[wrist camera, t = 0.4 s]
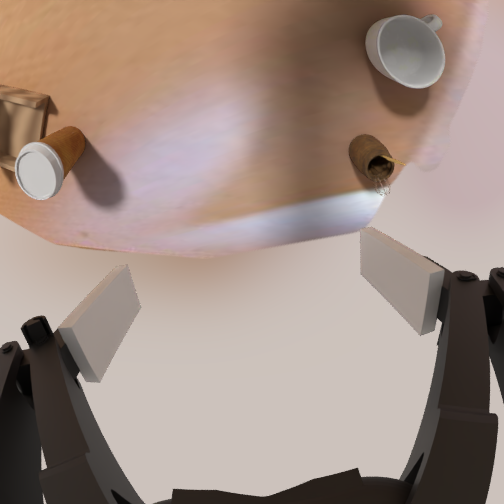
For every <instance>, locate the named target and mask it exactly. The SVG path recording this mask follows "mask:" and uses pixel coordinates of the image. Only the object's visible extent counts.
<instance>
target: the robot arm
mask: <svg viewBox="0 0 504 504" xmlns="http://www.w3.org/2000/svg"><path fill="white" fill-rule="evenodd" d="M360 241H361V242H360V243H361V275H362V276H363V277H364V278H365V279H366V280H367V281H368V282H369V283H370V284H371V285H372V286H373V287H374V288H375V289H376V290H377V291H378V292H379V293H380V294H381V295H382V296H383V297H384V298H385V299H386V300H387V301H388V302H389V303H390V304H391V305H392V306H393V307H394V308H395V309H396V310H397V311H398V313H399V314H400V315H401V316H402V317H403V318H404V319H405V320H406V321H407V322H408V323H409V324H410V325H411V326H412V327H413V328H414V330H415V331H416V332H417V333H418V334H419V335H420V336H421V335H424V334H427V333H430V332H432V331H434V330H435V325H436V320H437V318H438V319H439V320H440V321H441V322H442V326H441V330H440V334H439V338H438V342H437V345H438V351H437V357H436V363H435V368H434V373H433V378H432V383H431V388H430V392H429V396H428V400H427V405H426V408H425V412H424V415H423V419H422V422H421V426H420V429H419V432H418V435H417V438H416V441H415V444H414V447H413V450H412V453H411V455H410V458H409V460H408V463H407V465H406V468H405V470H404V471H403V473H402V475H401V477H400V479H399V480H398V479H393V478H387V477H361V476H360V473H359V470H358V468H355V469H352V470H348V471H345V472H341V473H337V474H333V475H329V476H325V477H321V478H316V479H312V480H310V481H308V482H305V483H303V484H300V485H298V486H296V487H293V488H290V489H287V490H285V491H282V492H279V493H276V494H273V495H270V496H266V497H259V496H251V495H243V494H236V493H230V492H224V491H219V490H184V489H173V493H172V499H168V500H164V501H160V502H157V503H154V504H485V503H486V499H487V494H488V491H489V486H490V481H491V476H492V471H493V465H494V459H495V451H496V443H497V433H498V416H497V415H496V414H493V413H489V404H490V360H489V356H490V359H491V362H492V365H493V368H494V371H495V374H496V377H497V381H498V384H499V387H500V391H501V395H502V398H503V403H504V268H503V267H501V268H493V269H491V271H490V276H489V280H481V281H479V278H478V276H477V275H475V274H474V273H471V272H468V271H455V272H453V273H452V272H450V271H449V270H448V269H446V268H444V267H443V266H441V265H439V264H438V263H436V262H434V261H433V260H431V259H430V258H428V257H425V256H422V255H420V254H418V253H416V252H415V251H413V250H412V249H410V248H408V247H407V246H405V245H403V244H401V243H400V242H398V241H396V240H394V239H393V238H391V237H389V236H387V235H386V234H384V233H382V232H380V231H378V230H376V229H375V228H373V227H368V228H362V229H360ZM140 308H141V305H140V303H139V299H138V296H137V293H136V290H135V287H134V284H133V281H132V277H131V274H130V270H129V267H128V265H123V266H117V267H115V269H114V270H112V271H111V272H110V273H109V274H108V275H107V276H106V277H105V278H104V279H103V280H102V281H101V282H100V283H99V284H98V285H97V286H96V287H95V288H94V289H93V290H92V291H91V293H89V295H88V296H87V297H86V298H85V299H84V300H83V301H82V302H81V303H80V304H79V305H78V306H77V307H76V308H75V309H74V310H73V311H72V313H71V314H70V315H69V316H68V317H67V318H66V319H65V320H64V321H63V323H62V324H61V325H60V326H59V327H58V329H57V330H56V331H55V332H54V333H53V332H52V330H51V328H50V326H49V324H48V321H47V319H46V317H45V316H37V317H34V318H32V319H30V320H28V321H27V322H25V323H24V324H23V325H22V327H21V330H22V332H23V335H24V337H25V339H26V341H27V343H28V345H29V349H27V350H22V349H21V347H20V345H19V344H18V342H17V341H12V342H7V343H5V344H4V345H2V347H1V348H0V504H44V503H43V494H44V497H45V500H46V503H47V504H145V503H144V502H143V501H142V500H141V499H140V497H139V496H138V494H137V493H136V491H135V490H134V488H133V487H132V485H131V484H130V482H129V481H128V479H127V477H126V476H125V474H124V473H123V471H122V469H121V468H120V466H119V464H118V463H117V461H116V459H115V457H114V455H113V454H112V452H111V450H110V448H109V446H108V444H107V442H106V440H105V438H104V436H103V435H102V433H101V430H100V428H99V426H98V424H97V422H96V420H95V418H94V415H93V413H92V411H91V409H90V406H89V404H88V402H87V400H86V397H85V394H84V392H83V389H82V387H81V384H80V382H79V381H78V379H77V375H78V373H79V372H81V374H82V376H83V377H84V379H85V381H86V382H100V381H101V379H102V377H103V376H104V373H105V372H106V370H107V368H108V366H109V364H110V362H111V360H112V358H113V357H114V355H115V353H116V351H117V349H118V347H119V345H120V343H121V342H122V340H123V338H124V336H125V335H126V333H127V331H128V329H129V328H130V326H131V324H132V322H133V321H134V318H135V317H136V315H137V314H138V312H139V310H140ZM41 445H42V450H43V453H44V457H45V461H46V465H47V468H46V469H44V470H41Z"/></svg>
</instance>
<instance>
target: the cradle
mask: <svg viewBox="0 0 504 504" xmlns="http://www.w3.org/2000/svg"><path fill="white" fill-rule="evenodd" d="M48 100H49V96H48V95H44V94H40V93H36V92H32V91H28V90H23V89H19V88H14V87H9V86H4V85H0V166H1V167H3V168H6V169H9V170H11V171H14V172H15V162H16V159H17V157H18V155H19V153H20V151H21V149H22V148H23V147H24V146H25V145H27V144H29V143H32V142H37V141H39V140H41V139H42V137H43V130H44V123H45V117H46V111H47V105H48Z"/></svg>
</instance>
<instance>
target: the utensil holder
mask: <svg viewBox="0 0 504 504" xmlns="http://www.w3.org/2000/svg"><path fill="white" fill-rule="evenodd" d="M349 155H350V158H351V160H352V161H353V163H354V164H355V166H356V167H357V168H358V169H359V171H360V172H361V173H362V174H364V175H365V176H366V177H367V178H369V179H370V180H372V181H375V182H380V184H381V181H384V180H386V179H387V178H389V177H390V175H391V174H392V172H393V170H394V163H397V164H401V165H402V164H403V165H406V164H404V163H402V162H400V161H398V160H396V159H393V158H392V156H391V155H390V154H389V152H388V150H387V148H386V147H385V146H384V145H383V144H382V143H381V142H380V141H379V140H377V139H376V138H375V137H373V136H371V135H366V134H364V135H360V136H358V137H356V138H355V139H354V140H353V141H352V142H351V144H350V147H349ZM385 182H386V181H385ZM386 184H387V183H386ZM373 185H374V184H373ZM376 185H377V184H376ZM389 185H390V184H389ZM381 186H382V184H381ZM374 188H375V187H374ZM382 188H383V186H382ZM377 189H378V187H377ZM375 190H376V189H375ZM378 190H379V189H378ZM383 190H384V188H383ZM379 191H380V190H379ZM376 192H377V191H376ZM380 192H381V191H380ZM384 192H385V190H384ZM386 192H387V191H386ZM386 192H385V194H386V195H387V193H386ZM382 193H383V192H382ZM389 193H390V192H389ZM378 194H379V193H378ZM380 195H381V196H382V195H383V194H380Z"/></svg>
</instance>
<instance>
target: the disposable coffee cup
mask: <svg viewBox="0 0 504 504" xmlns="http://www.w3.org/2000/svg"><path fill="white" fill-rule="evenodd" d="M84 149H85V138H84V136H83V134H82V132H81V131H80V130H79V129H77V128H75V127H72V126H68V127H65V128H63V129H61V130H59V131H57V132H55V133H53V134H51V135H49V136H47V137H44V138H43V139H41V140H39V141H37V142H32V143H29V144H27V145H25V146H24V147H23V148H22V149H21V151H20V153H19V155H18V157H17V159H16V162H15V176H16V179H17V182H18V184H19V186H20V187H21V189H22V190H23V191H24V192H25V193H26V194H27V195H28V196H30V197H32V198H34V199H36V200H45V199H47V198H50V197H53V196H55V195H56V194H57V193H58V192H59V190H60V188H61V186H62V183H63V180H64V179H65V177H66V176H67V174H68V173H69V171H70V170H71V168H72V167H73V166H74V164H75V163H76V161H77V160H78V159H79V157H80V156H81V154H82V153H83V152H84Z"/></svg>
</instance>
